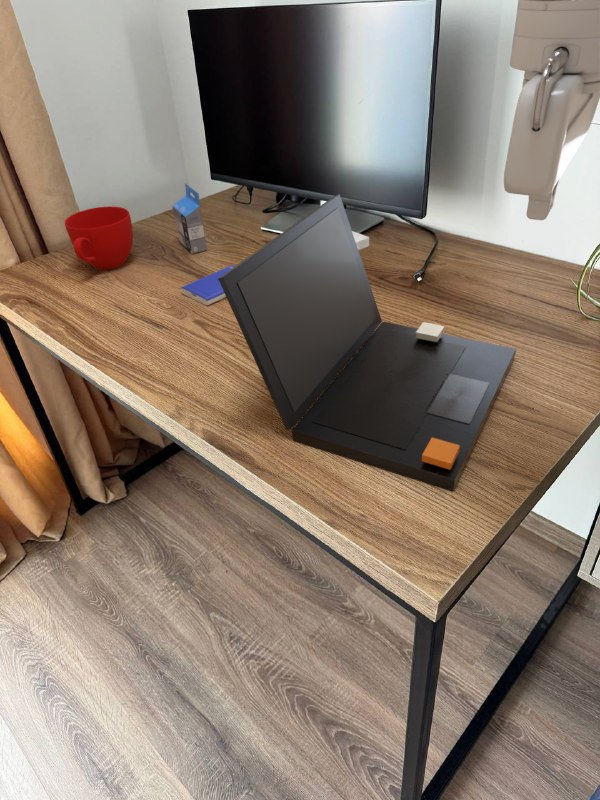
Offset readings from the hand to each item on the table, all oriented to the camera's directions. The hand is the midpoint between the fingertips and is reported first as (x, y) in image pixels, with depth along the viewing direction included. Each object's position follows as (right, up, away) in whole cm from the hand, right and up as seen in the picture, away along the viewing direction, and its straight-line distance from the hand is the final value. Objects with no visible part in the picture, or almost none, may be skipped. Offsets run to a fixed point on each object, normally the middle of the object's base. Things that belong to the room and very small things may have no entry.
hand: (538, 214), depth 54 cm
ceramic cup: (-63, +11, +70) cm, 95 cm away
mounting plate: (-17, +15, +71) cm, 75 cm away
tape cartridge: (-46, +17, +76) cm, 90 cm away
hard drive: (-37, +4, +58) cm, 69 cm away
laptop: (-7, -17, +27) cm, 32 cm away
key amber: (-6, -24, +14) cm, 28 cm away
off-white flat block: (-2, -8, +36) cm, 36 cm away
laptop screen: (-20, -4, +26) cm, 33 cm away
